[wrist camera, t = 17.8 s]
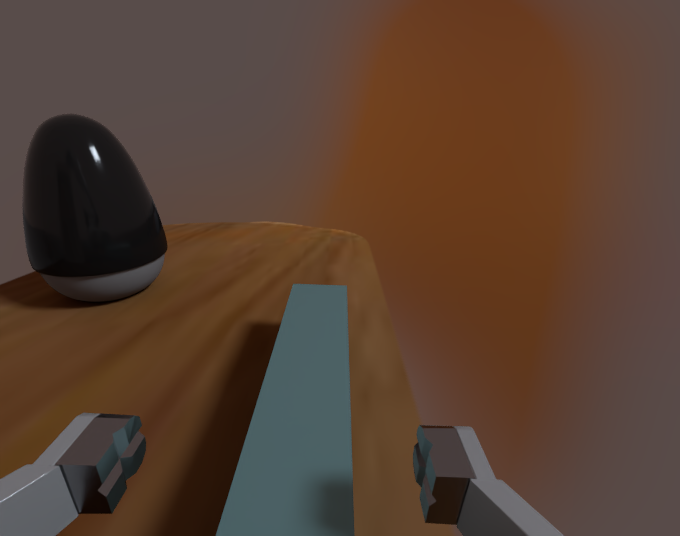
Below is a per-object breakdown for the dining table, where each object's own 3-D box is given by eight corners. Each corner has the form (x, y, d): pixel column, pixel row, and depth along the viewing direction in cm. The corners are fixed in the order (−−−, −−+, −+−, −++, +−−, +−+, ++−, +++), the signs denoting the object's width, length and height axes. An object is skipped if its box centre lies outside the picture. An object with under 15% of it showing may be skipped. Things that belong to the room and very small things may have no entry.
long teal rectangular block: (205, 724, 9) (181, 646, 8) (294, 334, 27) (293, 283, 25) (348, 727, 9) (358, 651, 8) (344, 336, 27) (346, 285, 25)
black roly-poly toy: (149, 260, 39) (122, 116, 33) (191, 290, 32) (166, 118, 26) (34, 286, 32) (-28, 109, 26) (58, 331, 25) (-16, 109, 19)
